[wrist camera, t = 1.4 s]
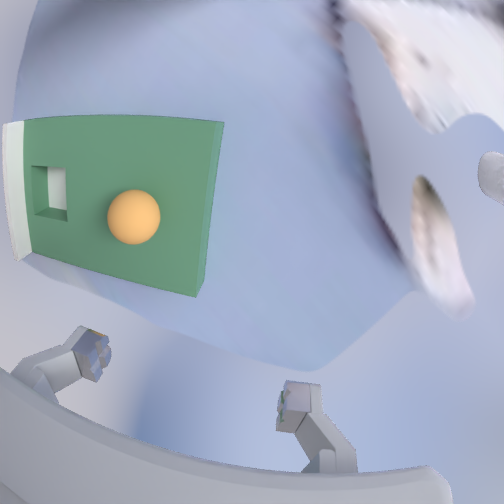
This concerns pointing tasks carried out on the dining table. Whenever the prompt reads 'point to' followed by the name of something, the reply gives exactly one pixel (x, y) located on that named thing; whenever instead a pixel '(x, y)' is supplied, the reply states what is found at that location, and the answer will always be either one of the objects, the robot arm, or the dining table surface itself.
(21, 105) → the dining table surface
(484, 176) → the roll
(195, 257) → the green
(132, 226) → the ball
